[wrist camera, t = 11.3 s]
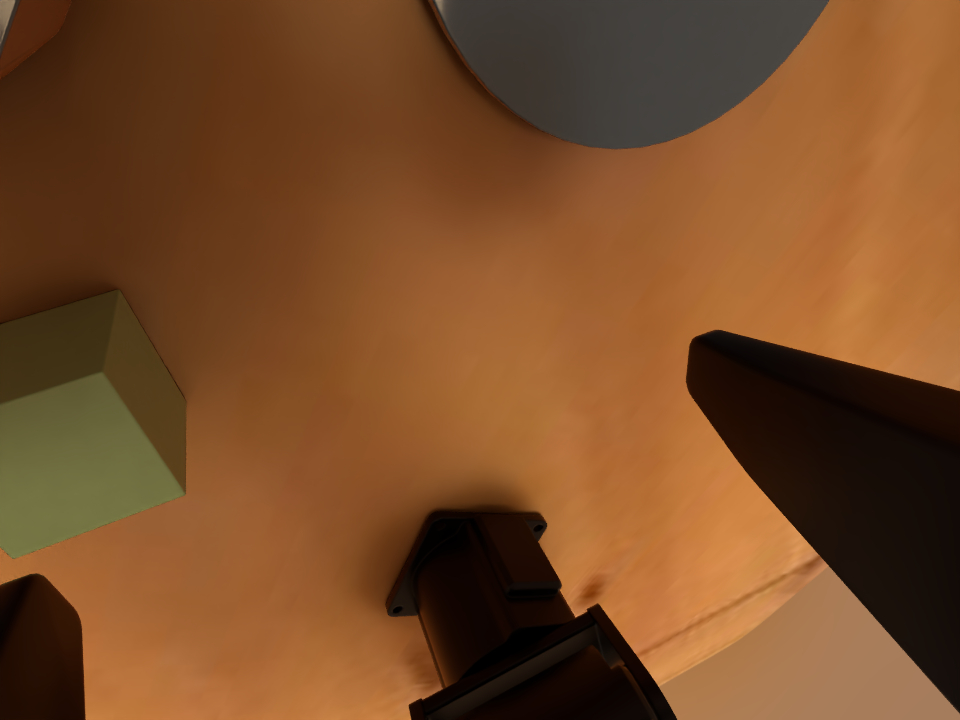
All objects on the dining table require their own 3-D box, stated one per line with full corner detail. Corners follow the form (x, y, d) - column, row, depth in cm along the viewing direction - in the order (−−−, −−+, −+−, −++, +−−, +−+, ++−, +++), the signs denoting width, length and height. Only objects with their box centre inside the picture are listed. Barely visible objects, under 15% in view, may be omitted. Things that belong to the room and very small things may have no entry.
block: (187, 402, 20) (186, 495, 17) (43, 451, 19) (12, 560, 16) (119, 287, 17) (102, 371, 14) (-51, 338, 16) (-114, 440, 13)
